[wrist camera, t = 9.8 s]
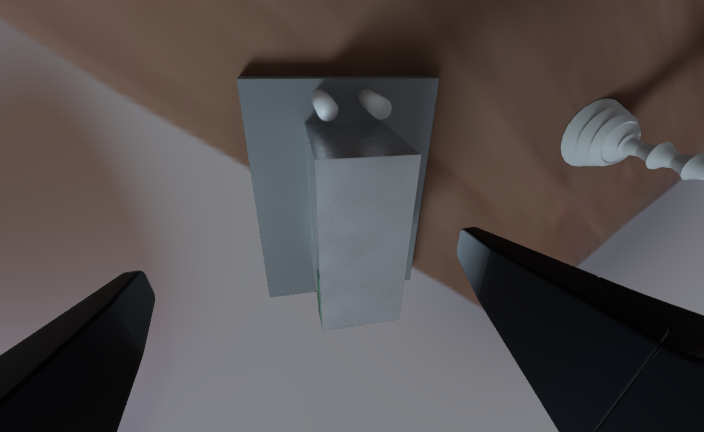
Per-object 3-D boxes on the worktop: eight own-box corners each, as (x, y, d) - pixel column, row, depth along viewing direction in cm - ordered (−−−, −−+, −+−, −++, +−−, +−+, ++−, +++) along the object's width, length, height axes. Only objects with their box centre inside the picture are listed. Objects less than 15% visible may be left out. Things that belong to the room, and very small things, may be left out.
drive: (382, 120, 18) (422, 154, 13) (373, 257, 23) (399, 319, 18) (303, 123, 17) (313, 160, 12) (311, 263, 22) (321, 331, 17)
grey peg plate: (430, 75, 19) (466, 85, 15) (404, 270, 26) (424, 307, 23) (238, 76, 17) (228, 87, 13) (270, 286, 24) (268, 329, 21)
